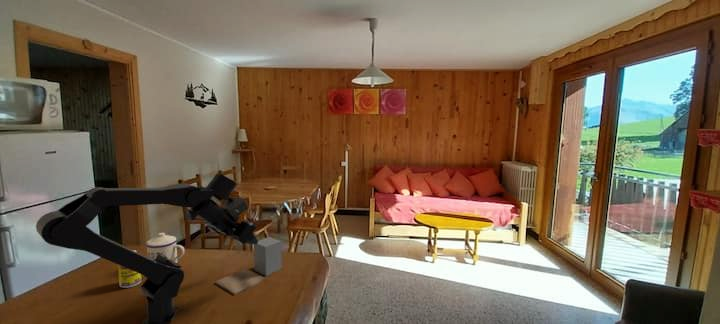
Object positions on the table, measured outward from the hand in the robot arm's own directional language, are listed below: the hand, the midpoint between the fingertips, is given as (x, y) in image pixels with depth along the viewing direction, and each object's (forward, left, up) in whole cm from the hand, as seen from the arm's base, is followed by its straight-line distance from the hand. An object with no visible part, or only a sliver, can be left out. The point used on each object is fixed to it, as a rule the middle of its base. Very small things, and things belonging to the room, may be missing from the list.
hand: (248, 239), depth 98 cm
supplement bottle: (+3, +35, -13) cm, 38 cm away
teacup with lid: (+15, +29, -13) cm, 36 cm away
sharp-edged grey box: (+5, -6, -13) cm, 15 cm away
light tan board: (-2, +2, -13) cm, 13 cm away
